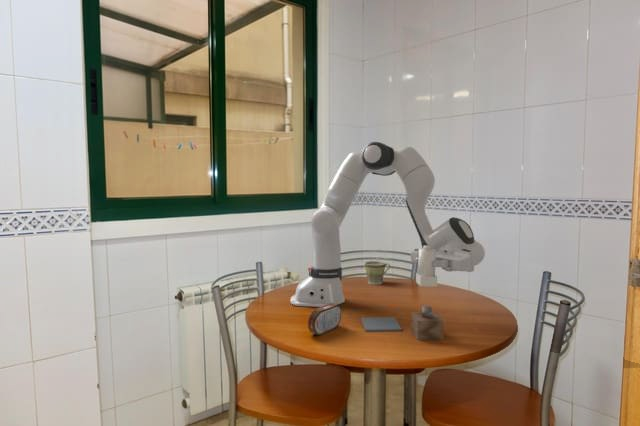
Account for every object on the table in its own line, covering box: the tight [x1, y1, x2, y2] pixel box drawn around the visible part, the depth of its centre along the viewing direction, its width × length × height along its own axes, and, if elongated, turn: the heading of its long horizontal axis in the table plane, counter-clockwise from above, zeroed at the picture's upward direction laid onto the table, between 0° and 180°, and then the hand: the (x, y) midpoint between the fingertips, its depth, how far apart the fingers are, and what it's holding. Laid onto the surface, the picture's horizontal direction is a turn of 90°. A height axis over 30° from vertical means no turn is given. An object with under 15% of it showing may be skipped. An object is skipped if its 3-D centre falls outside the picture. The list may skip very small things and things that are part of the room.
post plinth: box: [410, 305, 444, 341], centre depth 130 cm, size 8×8×9 cm
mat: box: [360, 316, 403, 332], centre depth 140 cm, size 12×12×1 cm
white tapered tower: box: [415, 245, 438, 287], centre depth 128 cm, size 5×5×12 cm
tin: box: [307, 303, 342, 336], centre depth 134 cm, size 15×3×8 cm, turn 141°
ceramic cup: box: [364, 260, 391, 286], centre depth 199 cm, size 13×10×10 cm
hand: (425, 262), depth 128 cm, fingers closed on white tapered tower, 5 cm apart
